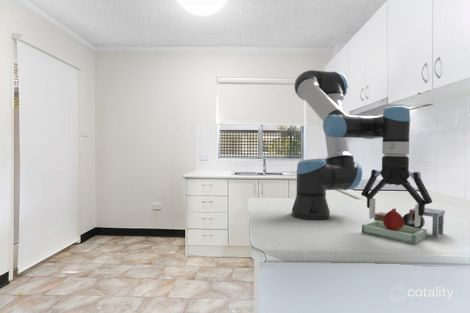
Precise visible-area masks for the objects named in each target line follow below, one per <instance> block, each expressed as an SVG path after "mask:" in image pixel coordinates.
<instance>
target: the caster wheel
mask: <svg viewBox="0 0 470 313" xmlns="http://www.w3.org/2000/svg"><path fill="white" fill-rule="evenodd" d="M424 211H425V212H424V215H423V216H421V223H420V226H418V227H415V207H414V208H410V209H409V212H408V213H406V214H404V215H402V217H403V219H404V226H410V227H415V228H421V229H423V228H424V226H425V218H424V217H425V216H427V217H431V218H432V230H431V231H432V232H431V234H432V237H433V236H435V237H434V238H438V237H439V235H438V234H444V222H445V221H444V217H445V215H446V214H445V212H446V211H445V210H444V209H437V208H436V209H435V208H429V207H425V210H424ZM437 236H438V237H437Z"/></svg>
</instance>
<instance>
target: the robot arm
mask: <svg viewBox="0 0 470 313" xmlns="http://www.w3.org/2000/svg"><path fill="white" fill-rule="evenodd" d="M348 88H349V85H348V80H347V77H346V75H344V73H341V72H337V71H325V70H324V71H323V70H315V69H311V70H306V71H304V72H302V73H301V74H299V75H298V76H297V78H296V79H295V81H294V92H295V94H296V95H297V97H298V98H299V99H300V100H302V101H305V102H306V103H307V104H308V106H309V107H310V108H311V109H312V110H313V111H314V113H315V114H316V115H317V116H318V117H319V118H320V119H321V121H322V122H323V123H322V130H323V133H324V138H325V146H326V152H327V153H326V154H327V156H326V158H311V159H304V160H303V159H302V160H300V161H299V162H297V165H296V196H295V199H294V201H293V202H294V203H293V206H292V208H291V215H292V216H293V217H294V218H298V219H302V220H303V219H304V220H313V221H314V220H317V221H318V220H320V221H321V220H328V219H329V218H331V215H330V214H331V211H330V208H329V205H328V201H327V198H326V196H327V195H326V194H327V191H347V190H348V191H349V190H353V189H356V188H357V187H358V186H359V185H360V183H361V181H362V177H363V169H362V168H363V167H362V166H361V165H360V164H359V163H358V162H357V161H355V159H354V155H353V154H351V153H350V151H349V145H348V139H347V138H352V139H353V138H355V139H357V138H358V139H366V140H367V139H368V140H373V139H380V138H382V145H381V146H382V148H381V151H382V157H381V170H379V169H377V168H376V169H372V170H371V173H370V177H369V178H368V180H367V182H366V184H365V186H364V187H363V190H362V192H361V194H360V195H361V196H362V197H365V198H366V208H368V209H369V212H368V214H369V215H368V216H369V218H368V219H372V220H373V219H374V218H375V214H376V198H374V197H375V196H376V195H377V194H378V193H379V192H380V190H382V189H383V188H384V187H385V186H386V185H390V186H391V185H394V186H402V188H404V189H405V190H406V191H407V192H408V194H409V195H410V197H412V198H413V200H415V202H416V203H417V204H415V205H414V206H415V207H414V208H415V227H418V226H420V223H421V216H423V217H424V212H425V211H424V210H425V208H426V207H425V206H426V205H429V204H431V203H433V199H432V198H431V196H430V194H429V192H428V190H427V188H426V186H425V185H424V182H423V181H422V178H421V172H420V171H415V172H414V171H413V172H411V171H410V170H409V165H410V164H409V163H410V158H409V156H408V155H409V154H410V126H411V124H410V123H411V114H410V109H409V107H407V106H402V105H397V106H388V107H385V108H383V111H382V112H383V113H382V115H378V116H365V115H349V114H347V113H346V112H345V111H344V110H343V107H342V102H343V101H344V98H345V96H346V94H347V92H348ZM379 176H381V177H382V179H381V180H380V181H379V182H378V183H377V185H376V186H375V187H374V184H375V182H376V181H377V179H378V177H379ZM410 177H411V179H412V180H413V181H414V184H415V186H416V188H417V190H418V191H417V190H416V189H415V188H414V187H413V186H412V184H411V183H410V181H409V180H408V179H409V178H410ZM372 188H373V189H372ZM418 192H419V193H420V194H419V193H418Z"/></svg>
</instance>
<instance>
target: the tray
mask: <svg viewBox="0 0 470 313" xmlns="http://www.w3.org/2000/svg"><path fill="white" fill-rule="evenodd" d="M361 233H362V234H367V235H372V236H376V237H381V238H385V239H388V240H393V241H399V242H402V243H408V244H413V245H416V244H418V243H420V242H422V241H424V240H425V239H427V233H428V232H427V229H425V228H415V227H410V226H403V228H402V229H400V230H399V231H393V230H388V229H387V228H386V227H385V226H384V224H383V222H382V221H377V220H375V221H374V220H372V221H370V222H366V223H363V224H362V225H361ZM424 238H425V239H424ZM419 241H420V242H419Z"/></svg>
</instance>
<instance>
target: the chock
mask: <svg viewBox="0 0 470 313" xmlns="http://www.w3.org/2000/svg"><path fill="white" fill-rule="evenodd" d="M387 213H388V212H382V211H380V212H375V218H373V219H374V220H373V221H375V220H377V221H382V222H383V219H384V216H385V215H386V214H387Z"/></svg>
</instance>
